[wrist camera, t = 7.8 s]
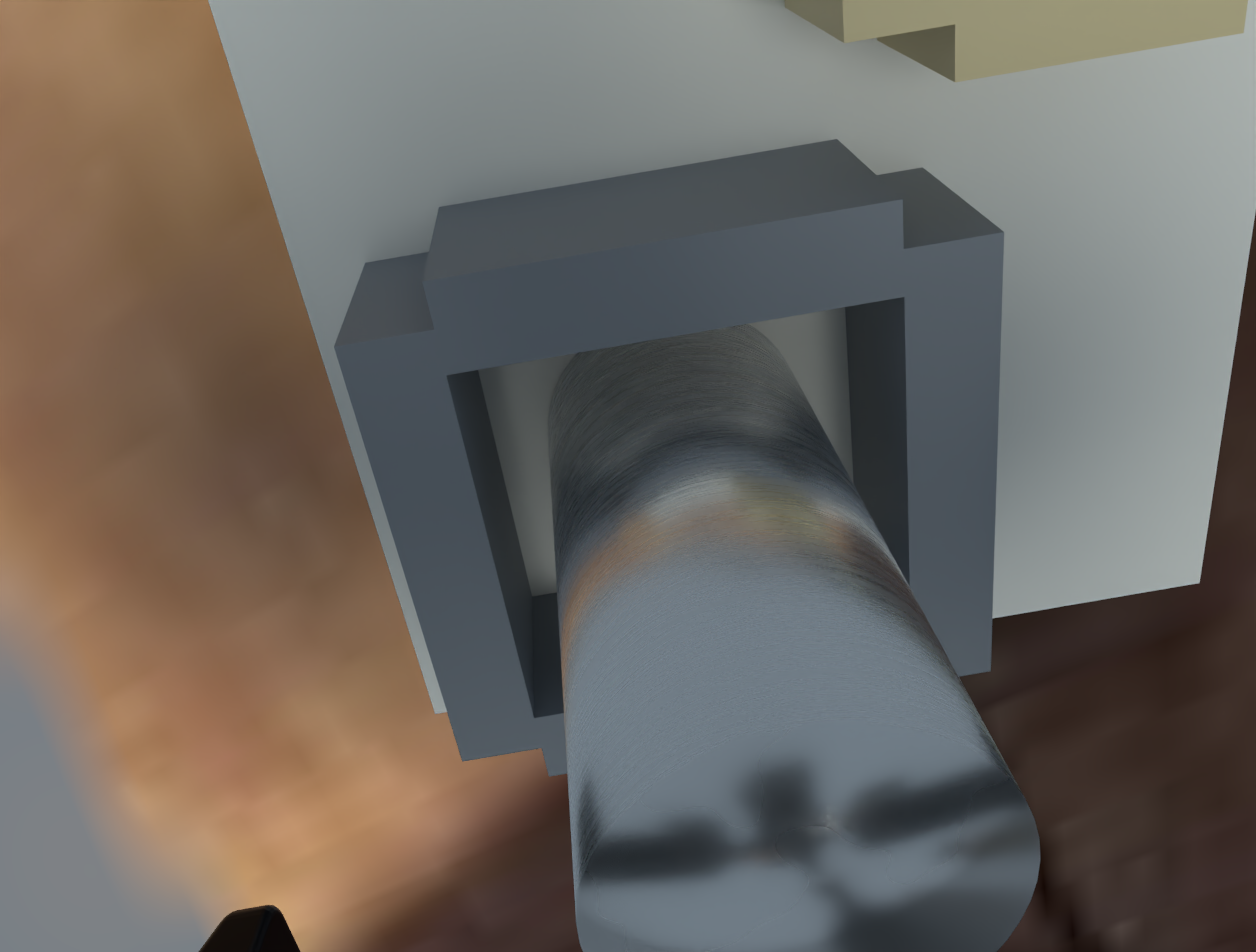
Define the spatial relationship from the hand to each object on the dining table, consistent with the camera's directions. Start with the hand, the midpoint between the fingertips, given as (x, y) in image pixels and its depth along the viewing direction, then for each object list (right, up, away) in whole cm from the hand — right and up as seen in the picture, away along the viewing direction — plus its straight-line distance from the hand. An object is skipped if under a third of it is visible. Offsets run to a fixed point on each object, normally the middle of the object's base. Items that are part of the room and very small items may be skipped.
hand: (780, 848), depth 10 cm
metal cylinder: (-1, +4, +7) cm, 9 cm away
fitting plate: (+1, +7, +7) cm, 10 cm away
